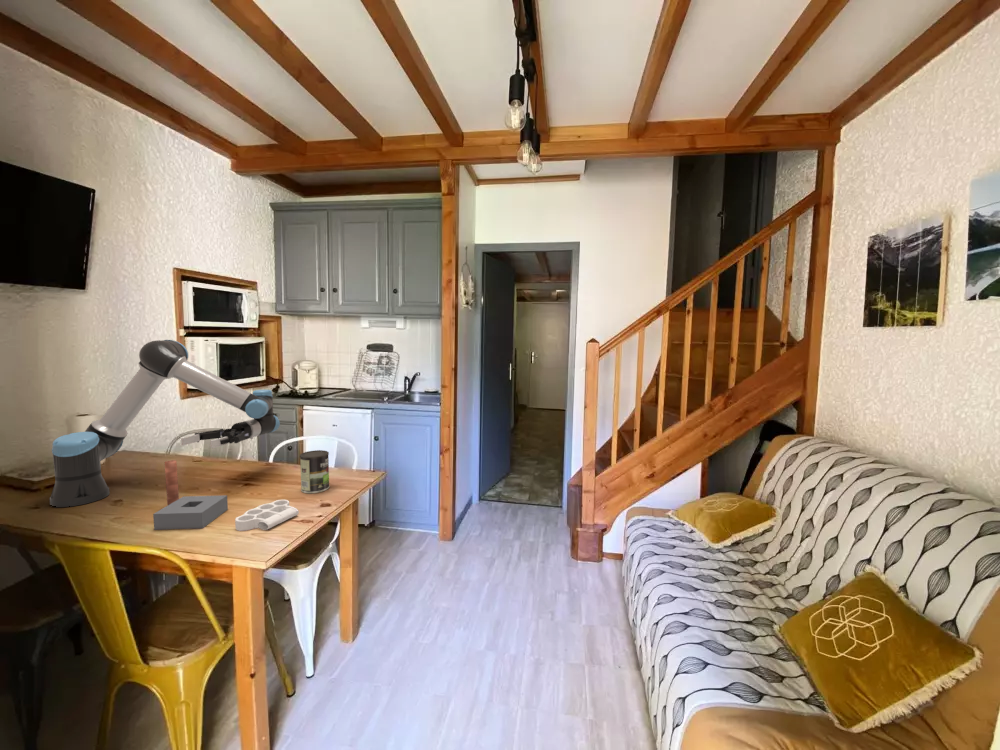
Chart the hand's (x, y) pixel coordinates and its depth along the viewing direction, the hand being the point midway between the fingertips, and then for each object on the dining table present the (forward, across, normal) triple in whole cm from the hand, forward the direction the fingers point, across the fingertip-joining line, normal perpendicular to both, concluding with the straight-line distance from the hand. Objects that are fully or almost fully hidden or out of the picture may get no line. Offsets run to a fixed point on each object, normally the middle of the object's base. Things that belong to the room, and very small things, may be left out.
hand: (196, 443), depth 152 cm
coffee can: (-18, -36, -21) cm, 45 cm away
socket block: (+16, -16, -20) cm, 30 cm away
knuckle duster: (+9, -39, -21) cm, 45 cm away
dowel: (+10, 0, -20) cm, 22 cm away
